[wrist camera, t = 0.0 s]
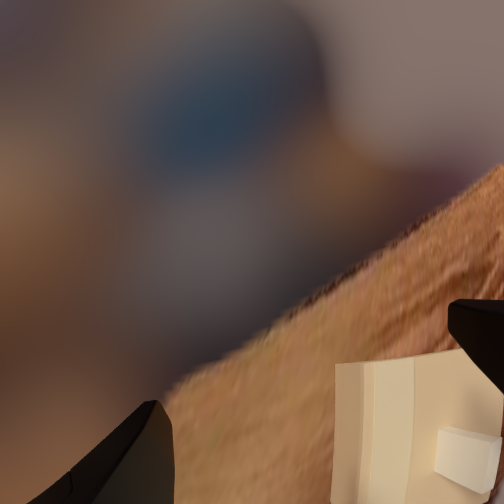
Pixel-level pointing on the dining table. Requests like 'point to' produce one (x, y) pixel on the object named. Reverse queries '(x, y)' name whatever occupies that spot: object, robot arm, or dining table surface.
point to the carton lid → (427, 431)
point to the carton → (348, 430)
